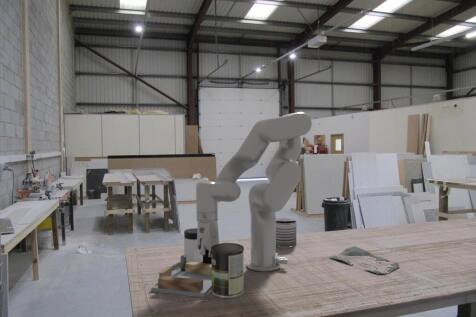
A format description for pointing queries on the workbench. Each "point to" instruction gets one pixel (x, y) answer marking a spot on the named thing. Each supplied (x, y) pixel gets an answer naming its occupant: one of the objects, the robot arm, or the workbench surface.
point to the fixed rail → (180, 284)
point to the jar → (191, 246)
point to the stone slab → (360, 252)
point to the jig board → (182, 274)
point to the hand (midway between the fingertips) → (207, 267)
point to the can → (285, 232)
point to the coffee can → (227, 270)
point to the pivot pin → (183, 262)
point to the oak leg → (198, 268)
